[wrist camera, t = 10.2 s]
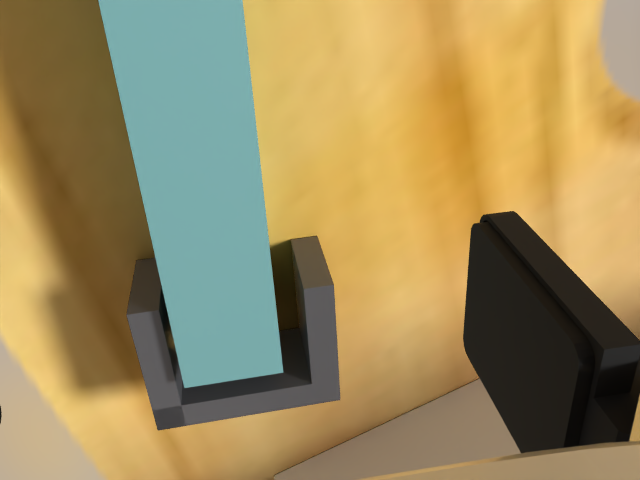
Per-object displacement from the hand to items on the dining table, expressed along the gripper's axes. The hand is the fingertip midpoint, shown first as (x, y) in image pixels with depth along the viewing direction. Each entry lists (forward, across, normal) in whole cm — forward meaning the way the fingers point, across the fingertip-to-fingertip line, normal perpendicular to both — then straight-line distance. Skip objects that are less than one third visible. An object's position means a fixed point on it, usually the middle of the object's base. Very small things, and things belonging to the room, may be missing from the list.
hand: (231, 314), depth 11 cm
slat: (+15, +1, -1) cm, 15 cm away
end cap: (+14, +1, +9) cm, 17 cm away
